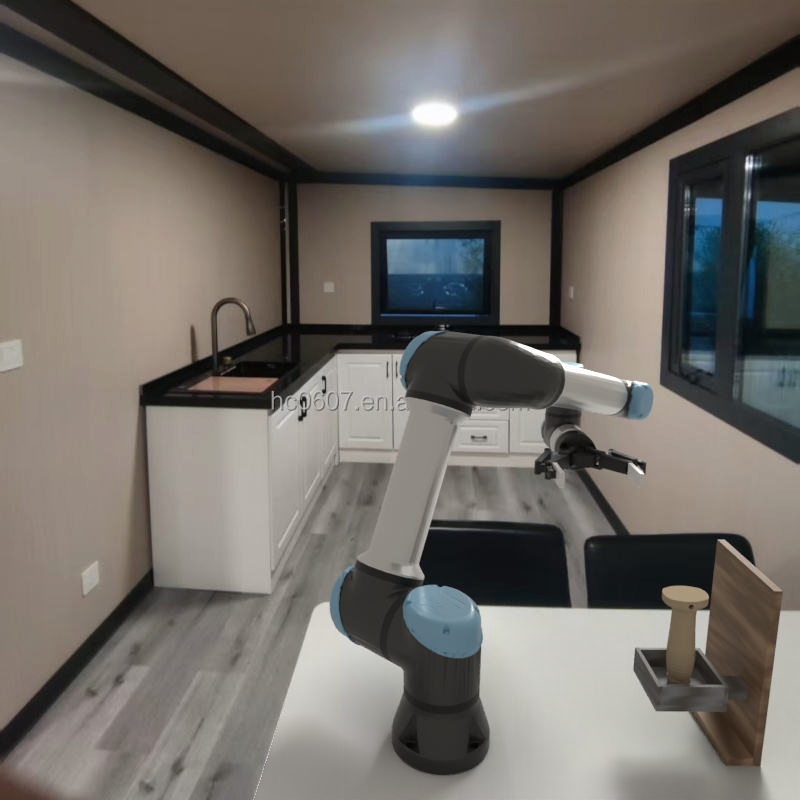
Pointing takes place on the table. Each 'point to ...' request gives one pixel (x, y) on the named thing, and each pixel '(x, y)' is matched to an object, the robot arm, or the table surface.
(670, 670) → the handle
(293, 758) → the table surface
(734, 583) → the bracket
